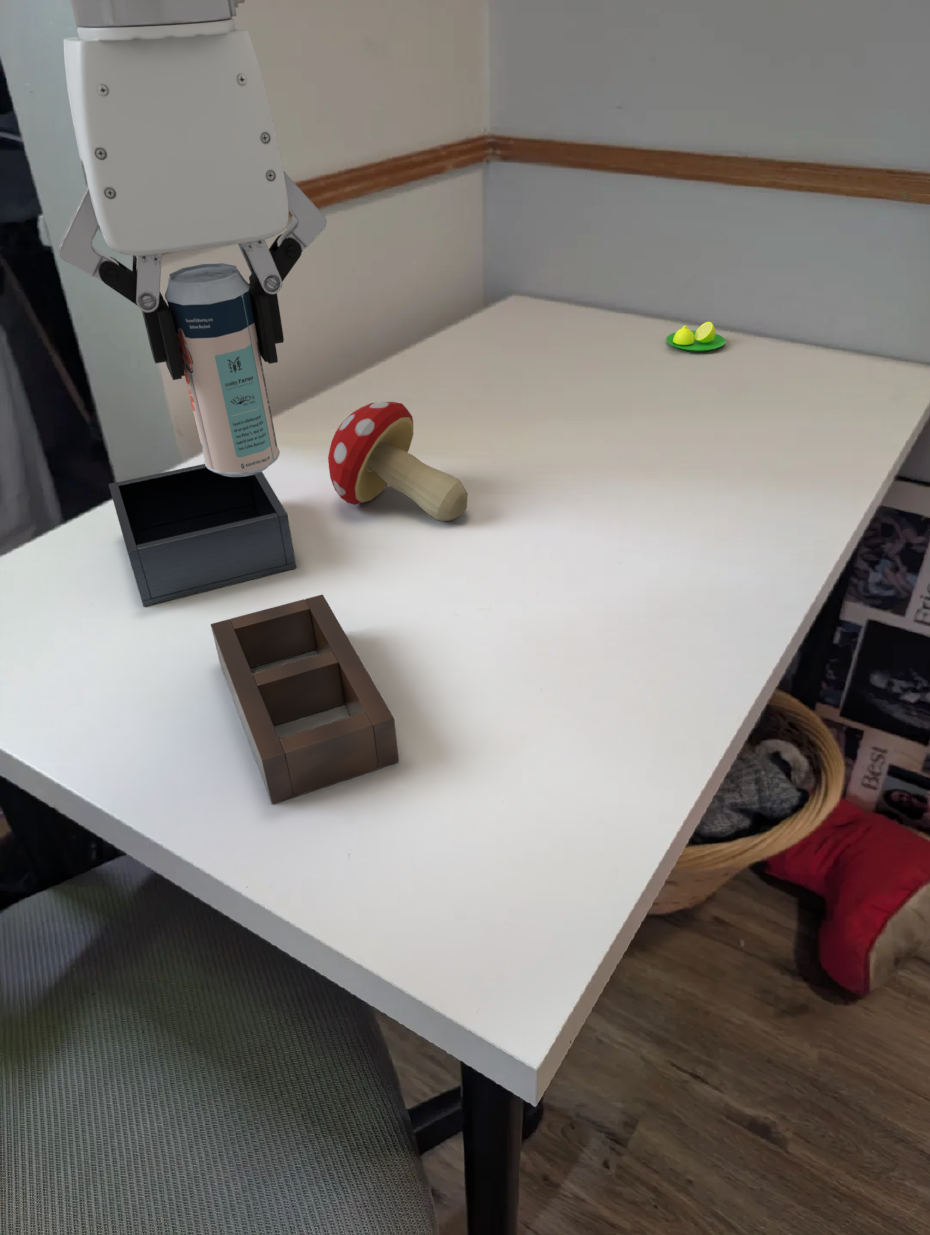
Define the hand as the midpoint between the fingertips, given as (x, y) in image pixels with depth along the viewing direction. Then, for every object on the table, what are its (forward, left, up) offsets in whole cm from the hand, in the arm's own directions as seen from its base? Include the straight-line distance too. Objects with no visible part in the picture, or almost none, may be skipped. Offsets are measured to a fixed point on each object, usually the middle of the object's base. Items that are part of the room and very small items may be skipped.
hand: (221, 361), depth 55 cm
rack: (+1, -3, -25) cm, 26 cm away
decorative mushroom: (+19, +23, -25) cm, 39 cm away
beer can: (0, 0, -7) cm, 7 cm away
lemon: (+71, +47, -25) cm, 88 cm away
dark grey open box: (-1, +23, -25) cm, 34 cm away
